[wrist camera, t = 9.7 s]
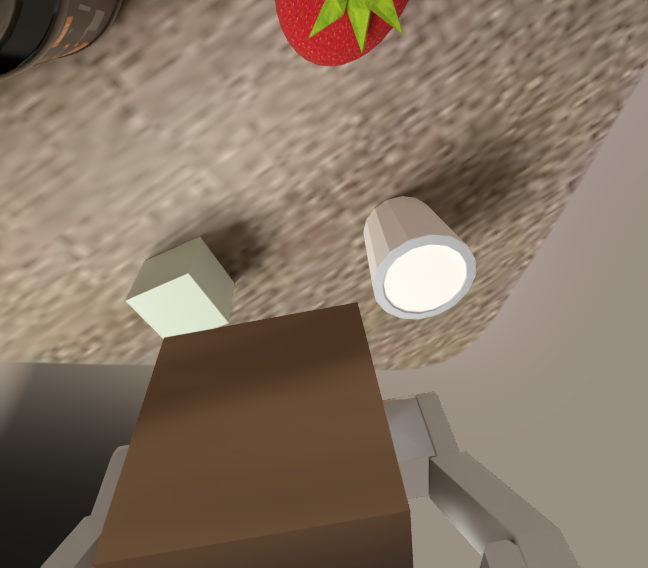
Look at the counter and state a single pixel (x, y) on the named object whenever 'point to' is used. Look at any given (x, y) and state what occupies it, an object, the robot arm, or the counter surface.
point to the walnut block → (262, 454)
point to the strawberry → (337, 27)
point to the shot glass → (415, 259)
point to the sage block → (183, 290)
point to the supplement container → (50, 30)
